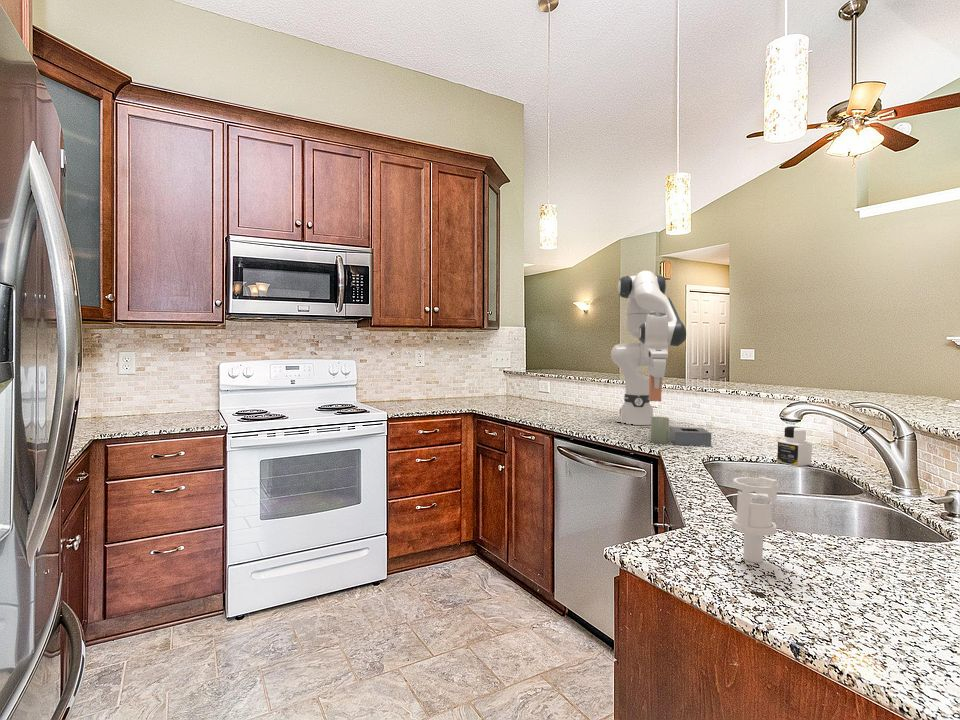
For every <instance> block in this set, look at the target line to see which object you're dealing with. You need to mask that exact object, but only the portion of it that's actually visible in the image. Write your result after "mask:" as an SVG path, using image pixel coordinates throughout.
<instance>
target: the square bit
mask: <svg viewBox="0 0 960 720" xmlns="http://www.w3.org/2000/svg"><path fill="white" fill-rule="evenodd" d="M648 376H649V377H648V379H649V401H650V402H662V391H663V390H662V387H663V383H662V382H663V378H660V383H659V388H658V389H655V388H654V377H653V376H651V375H648Z"/></svg>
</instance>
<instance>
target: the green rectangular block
mask: <svg viewBox="0 0 960 720" xmlns="http://www.w3.org/2000/svg"><path fill="white" fill-rule="evenodd" d="M669 427H670V418H669V417H667V416H653V417H651V425H650V444H651V443H654V444H653V445H655V444H662V445H661V446H665V445H664V444H668V445H669V441H670V440H669Z"/></svg>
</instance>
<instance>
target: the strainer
mask: <svg viewBox="0 0 960 720" xmlns="http://www.w3.org/2000/svg"><path fill="white" fill-rule="evenodd" d="M732 481H733V482H732V487H733V488H735V489H737V490H738V491H737V501H736V516H733V518H732V519H731V527H732V528H733V529H734V530H737V531H739V532H740V533H741V532H742V533H743V556H742V558H743V559H744V560H745V561H747V562H749V563H756V564H760V563H762V562H763V561H764V559H763V556H764V553H763V551H764V536H774V535H775V534H777V530H778V529H777V524H776V523H775V522H773V502H774V501H775V502H776V501H777V499H778V498H777V497H778V496H777V495H778V492H779V484H778V479H773V478H768V477H767V476H759V477H744V476H743V477H742V476H741V477H734V478H733V479H732ZM754 492H755V494H757V495H756V496H757V497H753V493H754ZM771 501H772V502H771Z"/></svg>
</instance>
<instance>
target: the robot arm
mask: <svg viewBox="0 0 960 720" xmlns="http://www.w3.org/2000/svg"><path fill="white" fill-rule="evenodd" d="M666 290H667V282H666V279H665V277H664V276H662V275H655V273H653V271H649V270H642V271H640V272H638V273H636V274H635V275H630V276H629V275H626V276H622V277H620V279H619V280H618V283H617V291H618V295H619V297H620V298H624V299H628V301H627V309H626V330H627V332H628V333H629V335H631V336H633V337H636V338H637V339H638V341H639V342H636V343H634V342H623V343H618V344H615V345H614V346H613V347H612V349H611V351H610V358H611V361H612V362H613V363H614V364H615V365H616V366H617V367H618V368H619V369H620V370H621V372H622V373H623V376H624V381H625V393H624V397H623V400H624V403H622V405H621V407H620V408H619V409H618V412H619V417H618V419H617V420H616V423H617V422H621V423H620V424H624V423H626V424H625V425H631V424H633V426H651V417H654V407H653V406H652V405H651V404H650V402H651V401H649V377H648V376H649V375H651V376H653V377H654V388H655V389H658V388H659V383H660V378H662V379H663V378H665V376H666V368H667V359H668V358H669V346H670V347H679V346H681V345H682V344H683V343H684V342H685V341H686V339H687V330H686V329H687V327H686V326H685V324H684V323H683V322H682V320H681V318H680V315H679V313H678V312H677V310H676V308H675V305H674V304H673V301H672V300H671V298H670V297H669V296H667V295H665V293H666V292H667V291H666ZM637 367H647V375H648V376H647V375H646V374H644V373H642V372H639V370H638V368H637Z"/></svg>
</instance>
